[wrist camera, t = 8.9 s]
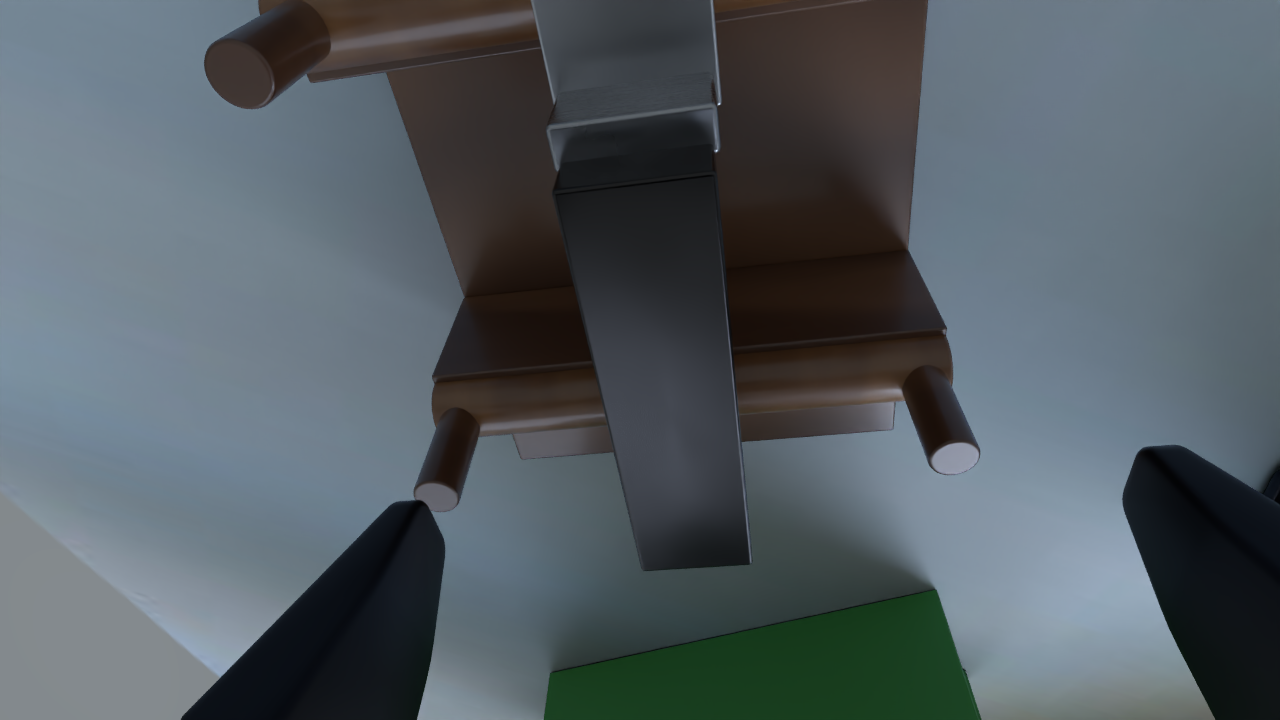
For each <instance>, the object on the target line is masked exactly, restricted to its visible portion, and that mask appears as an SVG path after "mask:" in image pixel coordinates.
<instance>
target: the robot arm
mask: <svg viewBox="0 0 1280 720" xmlns="http://www.w3.org/2000/svg"><path fill="white" fill-rule="evenodd" d="M1122 500H1123V508H1124V512H1125V515H1126V517H1127V520H1128V523H1129V525H1130V528H1131V531H1132V533H1133V536H1134V539H1135V541H1136V544H1137V547H1138V549H1139V552H1140V554H1141V557H1142V560H1143V562H1144V565H1145V568H1146V570H1147V573H1148V576H1149V578H1150V581H1151V584H1152V586H1153V589H1154V592H1155V594H1156V597H1157V599H1158V602H1159V605H1160V607H1161V610H1162V612H1163V615H1164V617H1165V620H1166V622H1167V624H1168V627H1169V629H1170V631H1171V633H1172V635H1173V637H1174V639H1175V642H1176V644H1177V646H1178V648H1179V650H1180V652H1181V654H1182V656H1183V657H1184V659H1185V661H1186V663H1187V665H1188V667H1189V669H1190V671H1191V673H1192V675H1193V677H1194V679H1195V681H1196V683H1197V685H1198V687H1199V689H1200V691H1201V692H1202V694H1203V696H1204V698H1205V700H1206V702H1207V704H1208V706H1209V708H1210V710H1211V712H1212V714H1213V716H1214V718H1215V720H1280V469H1279V470H1278V471H1277V472H1276V473H1275V474H1274V475H1273V477H1272V479H1271V481H1270V483H1269V485H1268V487H1267V488H1266V490H1265V492H1264V494H1261V493H1260V492H1258V491H1256V490H1255V489H1253V488H1251V487H1250V486H1248V485H1246V484H1245V483H1243V482H1242V481H1240V480H1238V479H1237V478H1235V477H1233V476H1232V475H1230V474H1228V473H1227V472H1225V471H1223V470H1222V469H1220V468H1218V467H1217V466H1215V465H1213V464H1212V463H1210V462H1209V461H1207V460H1205V459H1204V458H1202V457H1200V456H1199V455H1197V454H1195V453H1194V452H1192V451H1190V450H1189V449H1187V448H1185V447H1182V446H1179V445H1164V446H1150V447H1144V448H1142V449H1141V450H1140V451H1139V452H1138V453H1137V455H1136V457H1135V460H1134V463H1133V466H1132V468H1131V471H1130V474H1129V477H1128V480H1127V482H1126V485H1125V488H1124V491H1123V498H1122ZM444 560H445V542H444V538H443V536H442V534H441V532H440V530H439V527H438V525H437V523H436V521H435V519H434V517H433V515H432V513H431V511H430V509H429V507H428V505H427V504H426V503H425V502H424V501H422V500H411V501H398V502H395V503H393V504H391V505H390V506H389V507H388V508H387V509H386V510H385V511H384V512H383V513H382V514H381V515H380V516H379V517H378V518H377V519H376V520H375V521H374V522H373V523H372V524H371V525H370V526H369V527H368V528H367V529H366V530H365V531H364V532H363V533H362V534H361V535H360V536H359V537H358V538H357V539H356V540H355V541H354V542H353V543H352V544H351V545H350V546H349V547H348V548H347V549H346V550H345V551H344V552H343V553H342V554H341V555H340V557H339V558H338V559H337V560H336V561H335V562H334V563H333V564H332V565H331V566H330V567H329V568H328V569H327V570H326V571H325V572H324V573H323V574H322V575H321V576H320V577H319V578H318V579H317V580H316V581H315V582H314V583H313V584H312V585H311V586H310V587H309V588H308V589H307V590H306V591H305V592H304V593H303V594H302V595H301V596H300V597H299V598H298V599H297V600H296V601H295V602H294V603H293V604H292V605H291V606H290V607H289V608H288V609H287V610H286V611H285V612H284V614H283V615H282V616H281V617H280V618H279V619H278V620H277V621H276V622H275V623H274V624H273V625H272V626H271V627H270V628H269V629H268V630H267V631H266V632H265V633H264V634H263V635H262V636H261V637H260V638H259V639H258V640H257V641H256V642H255V643H254V644H253V645H252V646H251V647H250V648H249V649H248V650H247V651H246V652H245V653H244V654H243V655H242V656H241V657H240V658H239V659H238V660H237V661H236V662H235V663H234V664H233V665H232V666H231V667H230V668H229V669H228V670H227V672H226V673H225V674H224V675H223V676H222V677H221V678H220V679H219V680H218V681H217V682H216V683H215V684H214V685H213V686H212V687H211V688H210V689H209V690H208V691H207V692H206V693H205V694H204V695H203V696H202V697H201V698H200V699H199V700H198V701H197V702H196V703H195V704H194V705H193V706H192V707H191V708H190V709H189V710H188V711H187V712H186V713H185V714H184V715H183V716H182V718H181V720H417V717H418V713H419V709H420V705H421V701H422V697H423V692H424V688H425V684H426V680H427V676H428V671H429V667H430V662H431V656H432V650H433V644H434V636H435V629H436V621H437V613H438V606H439V598H440V590H441V583H442V575H443V568H444Z"/></svg>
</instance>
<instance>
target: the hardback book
mask: <svg viewBox="0 0 1280 720" xmlns="http://www.w3.org/2000/svg"><path fill="white" fill-rule="evenodd" d="M544 720H981V717H980V714H979V711H978V708H977V704H976V701H975V698H974V695H973V692H972V689H971V686H970V683H969V680H968V677H967V674H966V672H965V670H963V669H962V666H961V663H960V660H959V657H958V654H957V651H956V648H955V645H954V642H953V638H952V635H951V632H950V629H949V626H948V623H947V620H946V617H945V614H944V611H943V608H942V605H941V602H940V599H939V596H938V593H937V590H932V591H928V592H923V593H919V594H914V595H909V596H905V597H900V598H896V599H891V600H886V601H882V602H877V603H872V604H868V605H863V606H859V607H854V608H849V609H845V610H840V611H836V612H831V613H826V614H822V615H817V616H812V617H808V618H803V619H799V620H794V621H789V622H785V623H780V624H776V625H771V626H766V627H762V628H757V629H752V630H748V631H743V632H739V633H734V634H729V635H725V636H720V637H716V638H711V639H706V640H702V641H697V642H692V643H688V644H683V645H679V646H674V647H669V648H665V649H660V650H656V651H651V652H646V653H642V654H637V655H632V656H628V657H623V658H619V659H614V660H609V661H605V662H600V663H596V664H591V665H586V666H582V667H577V668H572V669H568V670H563V671H559V672H554V673H550V678H549V685H548V692H547V700H546V707H545V714H544Z"/></svg>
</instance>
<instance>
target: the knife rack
mask: <svg viewBox="0 0 1280 720" xmlns="http://www.w3.org/2000/svg"><path fill="white" fill-rule="evenodd" d="M258 3H259V13H260V16H258V17H257V18H255V19H253V20H251V21H250V22H248V23H246V24H245V25H243V26H241V27H239V28H238V29H236V30H234V31H232V32H231V33H229V34H227V35H225V36H224V37H222V38H220V39H218V40H217V41H215V42H214V43H212V44H211V45H210V46H209V48H208V49H207V51H206V54H205V60H204V67H205V72H206V76H207V78H208V80H209V82H210V84H211V86H212V87H213V88H214V90H215V91H216V92H217V93H218V94H219V95H220V96H221V97H222V98H223V99H225V100H226V101H228V102H229V103H231V104H233V105H235V106H237V107H241V108H245V109H259V108H262V107H265V106H266V105H268V104H269V103H270V102H272V101H273V100H274V99H275V98H277V97H278V96H279V95H280V94H282V93H283V92H284V91H285V90H286V89H288V88H289V87H290V86H291V85H293V84H294V83H295V82H296V81H298V80H299V79H300V78H301V77H303V76H304V75H305V74H307V76H308V78H309V81H310V82H311V83H316V82H323V81H330V80H336V79H343V78H350V77H357V76H363V75H370V74H377V73H384V72H386V73H387V76H388V79H389V82H390V85H391V88H392V91H393V94H394V96H395V99H396V102H397V105H398V108H399V111H400V114H401V116H402V119H403V122H404V125H405V128H406V131H407V134H408V137H409V139H410V142H411V145H412V148H413V151H414V154H415V157H416V160H417V162H418V165H419V168H420V171H421V174H422V177H423V180H424V182H425V185H426V188H427V191H428V194H429V197H430V200H431V203H432V205H433V208H434V211H435V214H436V217H437V220H438V223H439V225H440V228H441V231H442V234H443V237H444V240H445V243H446V246H447V248H448V251H449V254H450V257H451V260H452V263H453V266H454V268H455V271H456V274H457V277H458V280H459V283H460V286H461V289H462V291H463V294H464V297H465V298H464V299H463V301H462V304H461V306H460V309H459V311H458V313H457V316H456V318H455V321H454V323H453V326H452V328H451V331H450V333H449V336H448V338H447V341H446V343H445V346H444V348H443V350H442V353H441V355H440V358H439V360H438V363H437V365H436V368H435V370H434V373H433V375H432V379H433V381H434V383H435V384H434V388H433V392H432V413H433V419H434V423H435V426H436V430H435V433H434V436H433V439H432V441H431V444H430V447H429V450H428V452H427V455H426V458H425V460H424V463H423V466H422V469H421V471H420V474H419V477H418V480H417V482H416V485H415V488H414V491H413V492H414V498H415V500H422V501H424V502H425V503H426V504H427V505H428V507H429V509H430V510H431V511H435V512H446V511H450V510H452V509H454V508H455V507H456V506H457V505H458V504H459V501H460V498H461V495H462V491H463V488H464V484H465V481H466V478H467V474H468V471H469V468H470V464H471V461H472V458H473V454H474V451H475V447H476V444H477V441H478V437H485V436H497V435H509V434H512V435H513V438H514V441H515V443H516V446H517V449H518V452H519V455H520V458H521V459H535V458H548V457H560V456H573V455H585V454H598V453H610V452H614V451H613V447H612V443H611V439H610V435H609V431H608V426H607V422H606V418H605V414H604V410H603V406H602V401H601V397H600V393H599V389H598V385H597V381H596V377H595V372H594V368H593V364H592V360H591V356H590V352H589V347H588V343H587V339H586V335H585V331H584V327H583V322H582V318H581V314H580V310H579V306H578V302H577V297H576V293H575V289H574V285H573V281H572V277H571V272H570V268H569V264H568V260H567V256H566V252H565V247H564V243H563V239H562V235H561V231H560V227H559V222H558V218H557V214H556V210H555V206H554V202H553V197H552V190H553V187H554V183H555V180H556V177H557V173H558V172H557V171H556V170H555V168H554V164H553V160H552V155H551V151H550V147H549V142H548V138H547V134H546V125H547V122H548V120H549V117H550V114H551V112H552V109H553V106H554V105H553V101H552V96H551V91H550V87H549V82H548V78H547V73H546V69H545V64H544V60H543V55H542V51H541V46H540V42H539V37H538V33H537V28H536V24H535V19H534V15H533V10H532V6H531V1H530V0H258ZM927 7H928V0H714V10H715V23H716V35H717V47H718V59H719V71H720V84H721V96H722V103H721V105H719V106H718V118H719V129H720V141H721V148H720V151H719V152H717V153H715V158H716V167H717V177H718V188H719V199H720V210H721V221H722V232H723V243H724V254H725V265H726V276H727V287H728V297H729V308H730V319H731V330H732V341H733V352H734V363H735V374H736V385H737V396H738V407H739V418H740V429H741V440H742V442H747V441H760V440H772V439H785V438H797V437H810V436H822V435H835V434H847V433H860V432H872V431H885V430H892V429H893V426H894V414H895V402H899V401H906V404H907V407H908V409H909V412H910V415H911V417H912V420H913V423H914V425H915V428H916V431H917V434H918V436H919V439H920V442H921V444H922V447H923V450H924V453H925V455H926V458H927V461H928V463H929V466H930V467H931V468H932V469H933V470H934V471H936V472H937V473H940V474H944V475H955V474H960V473H963V472H965V471H967V470H969V469H971V468H972V467H973V466H974V465H975V464H976V463H977V462H978V460H979V458H980V448H979V446H978V444H977V442H976V439H975V437H974V435H973V433H972V431H971V428H970V426H969V424H968V422H967V420H966V417H965V415H964V413H963V411H962V409H961V406H960V404H959V402H958V400H957V398H956V395H955V393H954V391H953V389H952V383H953V362H952V355H951V350H950V346H949V343H948V340H947V338H946V331H947V327H946V325H945V323H944V321H943V319H942V317H941V315H940V313H939V311H938V309H937V307H936V305H935V303H934V301H933V299H932V297H931V295H930V293H929V291H928V289H927V287H926V285H925V283H924V281H923V279H922V277H921V275H920V273H919V271H918V269H917V267H916V264H915V262H914V260H913V258H912V256H911V254H910V252H909V250H908V241H909V229H910V217H911V204H912V192H913V180H914V167H915V155H916V143H917V130H918V118H919V105H920V93H921V81H922V68H923V56H924V44H925V31H926V19H927Z"/></svg>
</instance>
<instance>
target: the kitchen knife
mask: <svg viewBox="0 0 1280 720" xmlns="http://www.w3.org/2000/svg"><path fill="white" fill-rule="evenodd" d="M530 1H531V6H532V10H533V15H534V19H535V24H536V28H537V33H538V37H539V42H540V46H541V51H542V55H543V60H544V64H545V69H546V73H547V78H548V82H549V87H550V91H551V96H552V101H553V105H554V106H553V109H552V112H551V114H550V117H549V120H548V122H547V125H546V134H547V138H548V142H549V147H550V151H551V155H552V160H553V164H554V168H555V170H556V171H557V172H558V173H557V177H556V180H555V183H554V187H553V190H552V197H553V202H554V206H555V210H556V214H557V218H558V222H559V227H560V231H561V235H562V239H563V243H564V247H565V252H566V256H567V260H568V264H569V268H570V272H571V277H572V281H573V285H574V289H575V293H576V297H577V302H578V306H579V310H580V314H581V318H582V322H583V327H584V331H585V335H586V339H587V343H588V347H589V352H590V356H591V360H592V364H593V368H594V372H595V377H596V381H597V385H598V389H599V393H600V397H601V401H602V406H603V410H604V414H605V418H606V422H607V426H608V431H609V435H610V439H611V443H612V447H613V451H614V456H615V460H616V464H617V468H618V472H619V476H620V481H621V485H622V489H623V493H624V497H625V501H626V506H627V510H628V514H629V518H630V522H631V526H632V531H633V535H634V539H635V543H636V547H637V551H638V556H639V560H640V564H641V568H642V570H643V571H653V570H670V569H687V568H704V567H720V566H737V565H750V564H752V561H753V560H752V549H751V538H750V527H749V516H748V505H747V494H746V483H745V472H744V461H743V450H742V440H741V429H740V418H739V407H738V396H737V385H736V374H735V363H734V352H733V341H732V330H731V319H730V308H729V297H728V287H727V276H726V265H725V254H724V243H723V232H722V221H721V210H720V199H719V188H718V177H717V167H716V158H715V153H717V152H719V151H720V148H721V141H720V129H719V118H718V106H719V105H721V103H722V96H721V84H720V71H719V59H718V47H717V35H716V23H715V10H714V0H530Z"/></svg>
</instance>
